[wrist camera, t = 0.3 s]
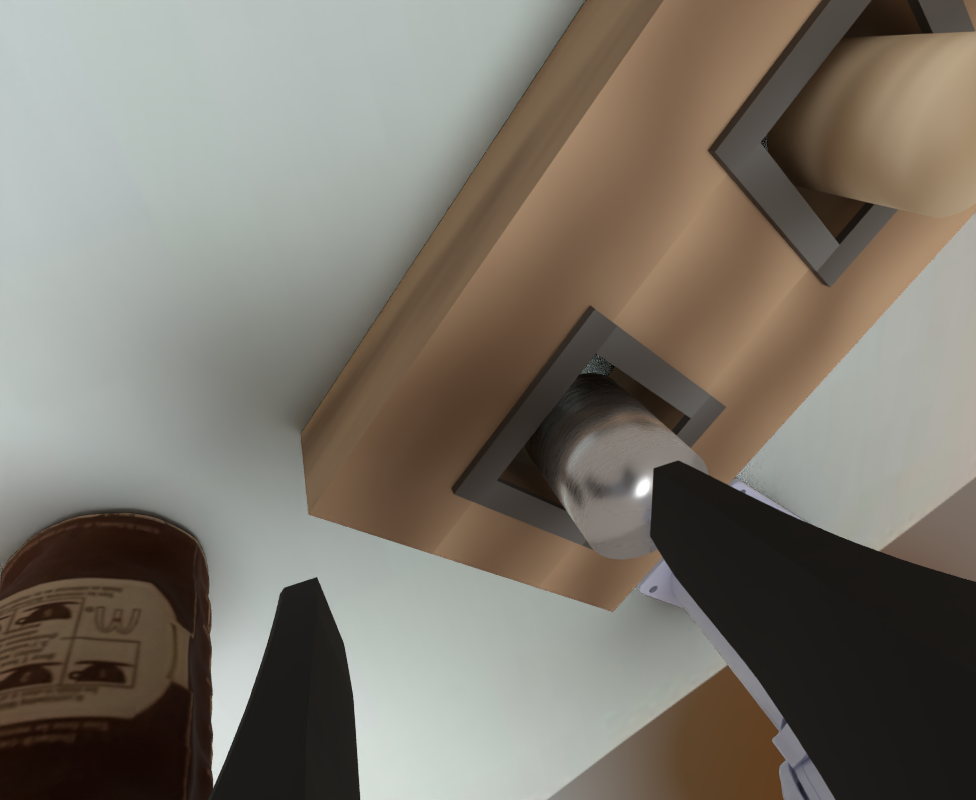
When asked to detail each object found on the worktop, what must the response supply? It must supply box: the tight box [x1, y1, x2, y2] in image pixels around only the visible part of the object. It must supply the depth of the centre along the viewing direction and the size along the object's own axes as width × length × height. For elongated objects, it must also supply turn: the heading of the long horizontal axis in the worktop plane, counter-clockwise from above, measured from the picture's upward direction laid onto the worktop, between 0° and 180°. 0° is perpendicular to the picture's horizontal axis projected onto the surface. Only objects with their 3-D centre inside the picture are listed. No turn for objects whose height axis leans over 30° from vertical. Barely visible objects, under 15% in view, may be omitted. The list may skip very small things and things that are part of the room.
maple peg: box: [767, 31, 976, 218], centre depth 15 cm, size 4×4×4 cm
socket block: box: [301, 0, 976, 612], centre depth 19 cm, size 14×24×5 cm, turn 142°
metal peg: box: [525, 373, 709, 559], centre depth 18 cm, size 4×4×4 cm
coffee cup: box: [0, 513, 213, 800], centre depth 15 cm, size 9×8×13 cm
